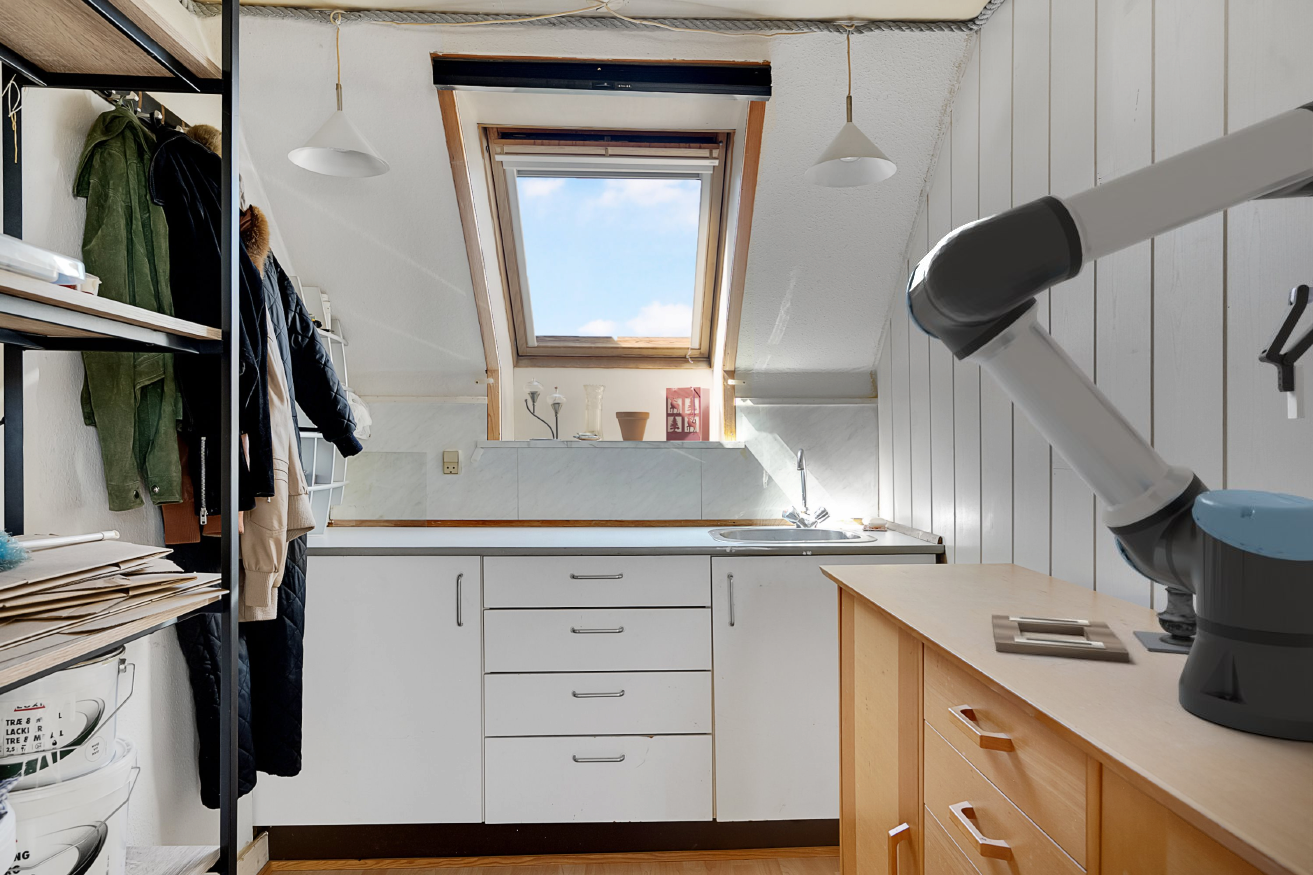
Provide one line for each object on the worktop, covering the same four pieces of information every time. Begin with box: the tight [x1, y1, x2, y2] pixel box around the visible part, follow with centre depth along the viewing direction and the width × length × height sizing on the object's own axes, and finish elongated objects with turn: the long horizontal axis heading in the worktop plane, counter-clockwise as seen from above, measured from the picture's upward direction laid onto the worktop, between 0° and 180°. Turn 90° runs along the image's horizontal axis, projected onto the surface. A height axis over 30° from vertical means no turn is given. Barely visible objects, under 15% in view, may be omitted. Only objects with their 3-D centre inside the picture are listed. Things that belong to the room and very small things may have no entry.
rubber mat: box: [1132, 630, 1196, 655], centre depth 106 cm, size 10×10×1 cm
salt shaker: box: [1155, 586, 1197, 647], centre depth 106 cm, size 6×6×12 cm
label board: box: [991, 614, 1130, 663], centre depth 110 cm, size 18×16×2 cm
